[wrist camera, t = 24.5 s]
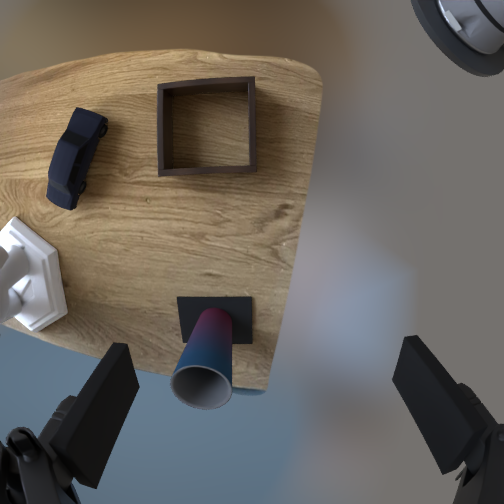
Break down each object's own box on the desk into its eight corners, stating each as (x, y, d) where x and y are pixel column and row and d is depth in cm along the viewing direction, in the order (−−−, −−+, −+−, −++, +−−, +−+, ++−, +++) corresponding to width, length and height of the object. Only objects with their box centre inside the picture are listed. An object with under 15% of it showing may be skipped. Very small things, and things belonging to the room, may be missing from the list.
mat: (251, 296, 43) (251, 297, 42) (252, 342, 45) (252, 343, 45) (177, 296, 43) (176, 297, 42) (183, 341, 45) (183, 343, 45)
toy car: (113, 118, 35) (97, 114, 31) (79, 210, 39) (62, 216, 34) (84, 108, 35) (67, 103, 30) (53, 196, 38) (35, 200, 34)
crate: (254, 85, 35) (254, 76, 30) (256, 171, 38) (256, 172, 34) (167, 92, 35) (157, 84, 30) (168, 175, 38) (158, 176, 34)
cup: (191, 337, 44) (170, 403, 30) (194, 298, 42) (169, 360, 28) (235, 343, 45) (228, 413, 30) (240, 305, 43) (235, 370, 28)
